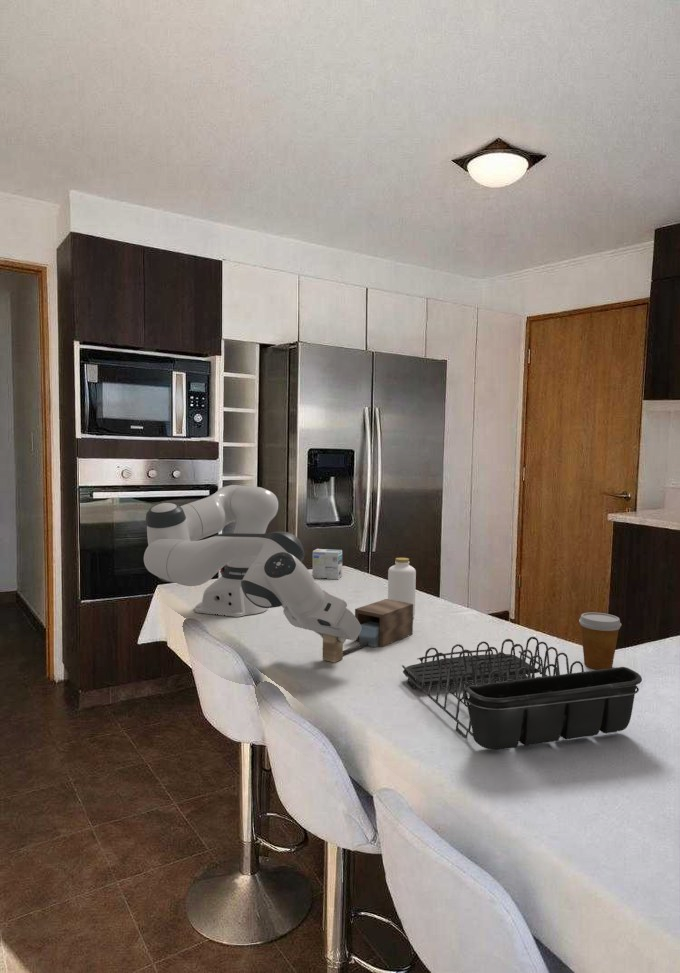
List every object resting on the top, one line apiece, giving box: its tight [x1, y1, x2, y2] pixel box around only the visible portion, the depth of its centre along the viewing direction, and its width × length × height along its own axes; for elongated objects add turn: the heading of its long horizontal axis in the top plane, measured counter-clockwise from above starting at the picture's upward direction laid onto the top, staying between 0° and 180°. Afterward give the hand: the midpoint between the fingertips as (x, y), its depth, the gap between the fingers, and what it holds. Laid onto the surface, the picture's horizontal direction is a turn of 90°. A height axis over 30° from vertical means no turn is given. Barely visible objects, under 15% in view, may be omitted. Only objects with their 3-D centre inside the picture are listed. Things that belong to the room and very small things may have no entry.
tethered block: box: [322, 621, 380, 663], centre depth 170 cm, size 21×5×9 cm, turn 143°
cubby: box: [354, 598, 414, 648], centre depth 182 cm, size 15×9×8 cm, turn 142°
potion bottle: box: [387, 557, 417, 618], centre depth 203 cm, size 8×8×18 cm
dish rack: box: [401, 636, 643, 751], centre depth 136 cm, size 34×44×12 cm
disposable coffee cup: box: [578, 612, 622, 670], centre depth 161 cm, size 10×10×12 cm
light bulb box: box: [311, 548, 343, 580], centre depth 261 cm, size 11×7×11 cm, turn 77°
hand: (334, 638), depth 164 cm, fingers closed on tethered block, 3 cm apart
